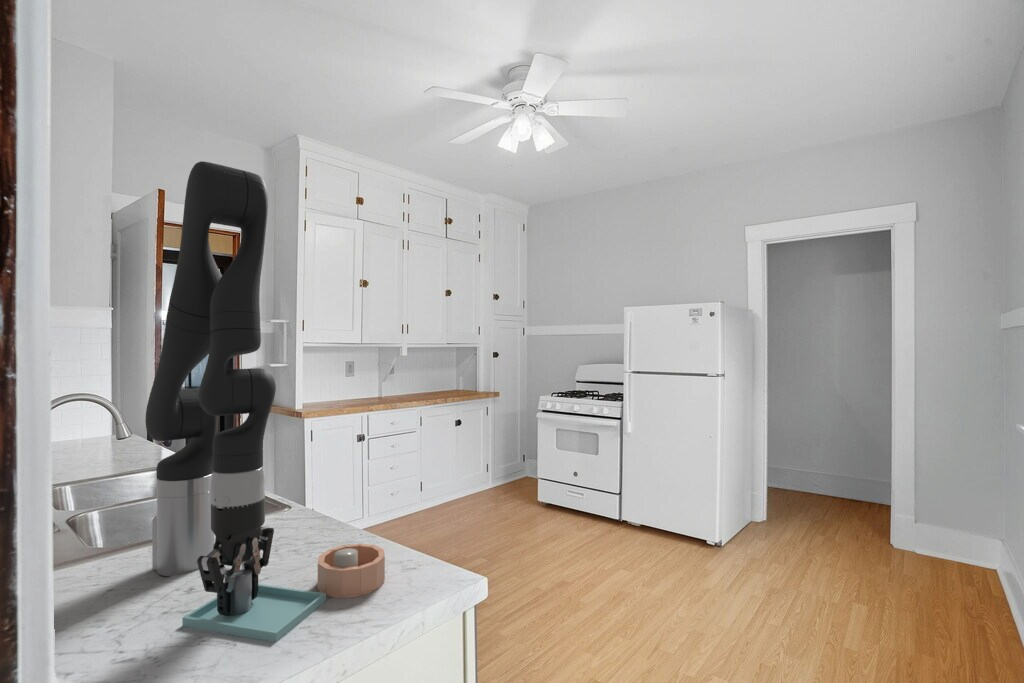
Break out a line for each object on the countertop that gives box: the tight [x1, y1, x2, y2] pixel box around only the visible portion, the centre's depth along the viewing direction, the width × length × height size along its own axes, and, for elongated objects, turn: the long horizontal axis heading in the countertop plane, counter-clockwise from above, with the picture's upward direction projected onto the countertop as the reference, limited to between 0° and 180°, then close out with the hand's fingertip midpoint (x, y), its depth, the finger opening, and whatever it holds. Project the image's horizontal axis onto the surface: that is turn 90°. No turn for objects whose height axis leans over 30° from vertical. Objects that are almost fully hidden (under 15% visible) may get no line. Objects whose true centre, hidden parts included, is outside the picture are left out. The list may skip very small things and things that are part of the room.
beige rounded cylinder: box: [334, 548, 358, 568], centre depth 92 cm, size 4×4×6 cm
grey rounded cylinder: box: [224, 568, 252, 616], centre depth 84 cm, size 4×4×6 cm
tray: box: [182, 583, 327, 643], centre depth 84 cm, size 16×12×2 cm
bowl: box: [317, 543, 386, 599], centre depth 94 cm, size 11×11×5 cm
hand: (238, 605), depth 85 cm, fingers open, 4 cm apart
